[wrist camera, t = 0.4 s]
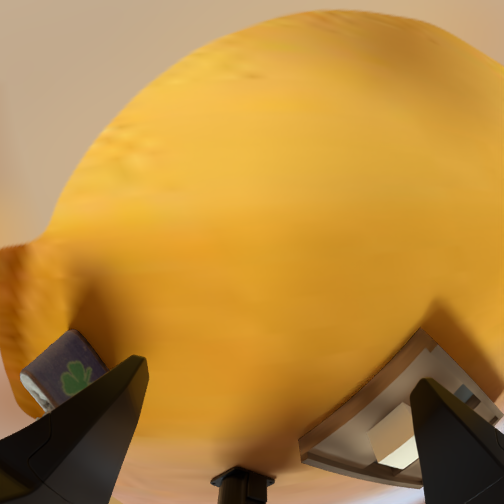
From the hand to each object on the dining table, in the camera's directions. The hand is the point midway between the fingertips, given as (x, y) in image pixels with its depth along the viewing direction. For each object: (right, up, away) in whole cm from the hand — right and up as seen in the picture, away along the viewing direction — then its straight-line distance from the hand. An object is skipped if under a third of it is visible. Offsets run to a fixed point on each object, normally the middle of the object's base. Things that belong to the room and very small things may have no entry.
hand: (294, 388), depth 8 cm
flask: (-18, -8, +17) cm, 26 cm away
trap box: (+21, -19, +18) cm, 33 cm away
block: (+14, -14, +15) cm, 25 cm away
